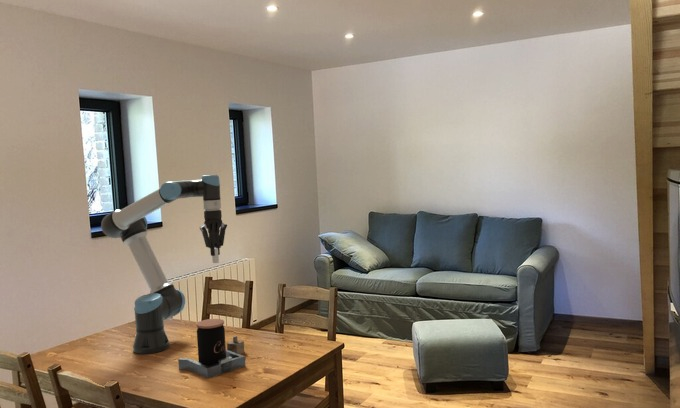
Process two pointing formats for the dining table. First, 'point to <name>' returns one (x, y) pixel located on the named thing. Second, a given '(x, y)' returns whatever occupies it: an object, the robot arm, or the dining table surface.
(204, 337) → the coffee jar
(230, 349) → the grey block
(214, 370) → the gray rectangular tray
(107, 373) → the dining table surface
